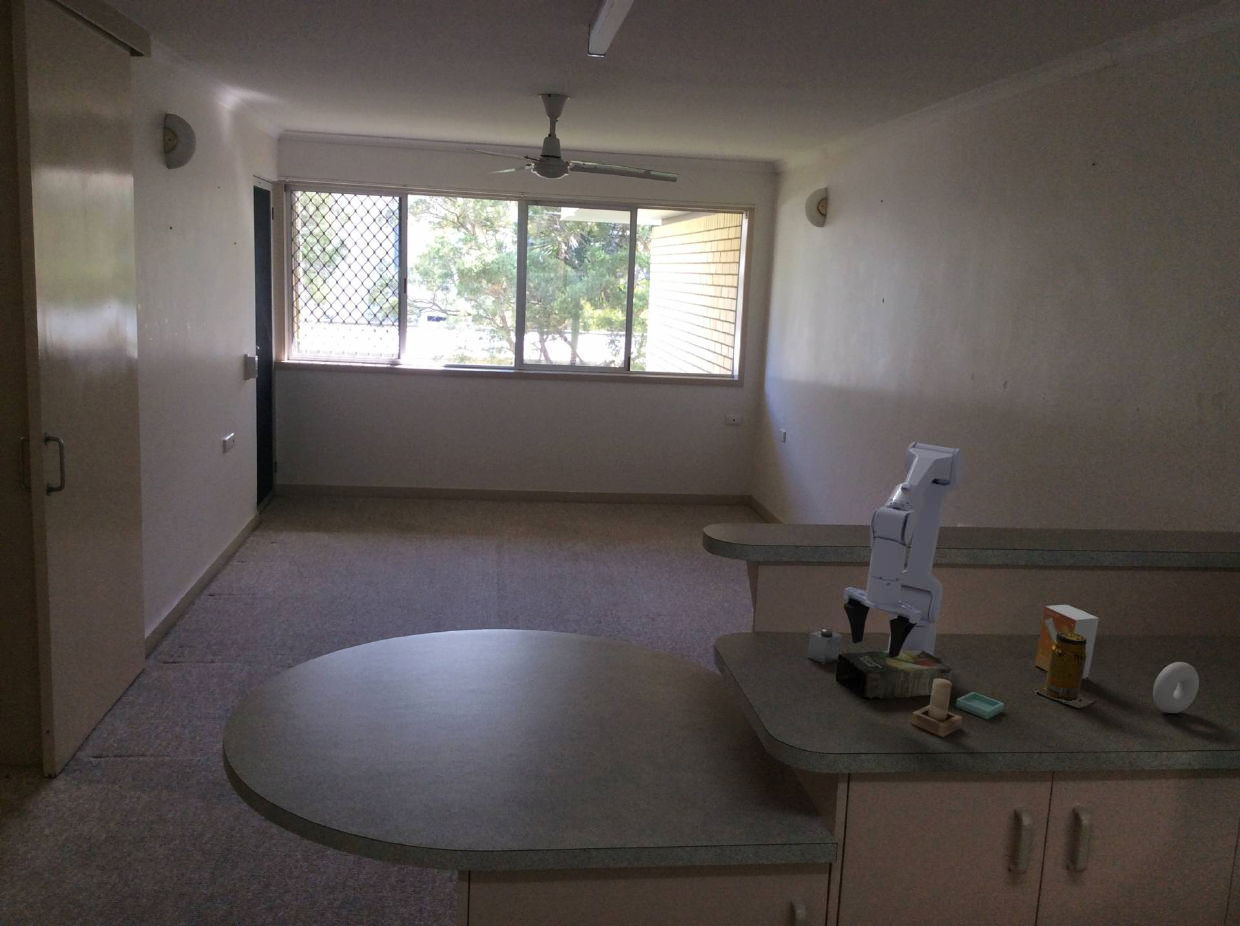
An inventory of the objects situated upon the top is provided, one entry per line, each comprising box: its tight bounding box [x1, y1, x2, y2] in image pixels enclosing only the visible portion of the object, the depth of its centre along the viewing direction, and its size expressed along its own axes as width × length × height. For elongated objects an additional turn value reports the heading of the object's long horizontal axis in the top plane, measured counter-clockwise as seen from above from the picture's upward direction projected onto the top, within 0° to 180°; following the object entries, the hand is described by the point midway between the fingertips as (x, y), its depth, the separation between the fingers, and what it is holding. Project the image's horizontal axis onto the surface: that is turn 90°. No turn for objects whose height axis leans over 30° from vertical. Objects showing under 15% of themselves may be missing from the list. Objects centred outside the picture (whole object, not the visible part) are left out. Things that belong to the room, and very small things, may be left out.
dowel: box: [928, 679, 953, 723], centre depth 171 cm, size 3×3×8 cm
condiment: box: [1035, 632, 1087, 701], centre depth 187 cm, size 7×8×12 cm
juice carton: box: [835, 650, 953, 700], centre depth 186 cm, size 20×10×6 cm, turn 110°
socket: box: [910, 704, 963, 738], centre depth 171 cm, size 6×6×2 cm
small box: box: [1034, 604, 1100, 678], centre depth 200 cm, size 8×6×13 cm
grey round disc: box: [1152, 661, 1200, 714], centre depth 185 cm, size 10×4×10 cm, turn 115°
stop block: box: [806, 627, 843, 665], centre depth 197 cm, size 5×4×6 cm
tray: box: [955, 691, 1005, 720], centre depth 180 cm, size 6×6×2 cm
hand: (875, 648), depth 177 cm, fingers open, 7 cm apart
